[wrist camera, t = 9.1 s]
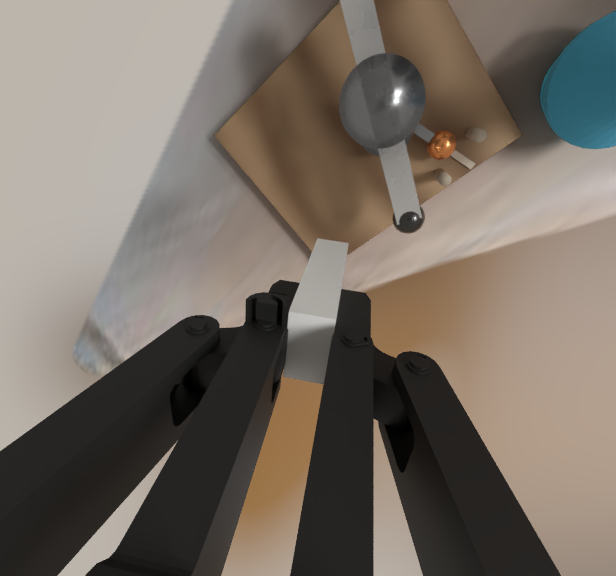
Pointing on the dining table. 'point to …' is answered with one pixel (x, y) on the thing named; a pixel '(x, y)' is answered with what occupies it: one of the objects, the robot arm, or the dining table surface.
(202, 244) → the dining table surface
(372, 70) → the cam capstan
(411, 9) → the wooden lever board
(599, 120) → the perfume bottle
